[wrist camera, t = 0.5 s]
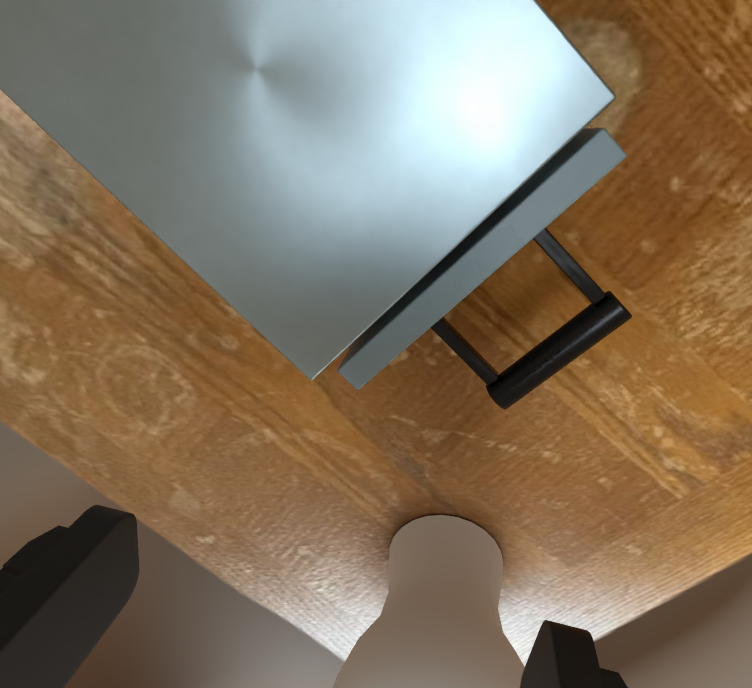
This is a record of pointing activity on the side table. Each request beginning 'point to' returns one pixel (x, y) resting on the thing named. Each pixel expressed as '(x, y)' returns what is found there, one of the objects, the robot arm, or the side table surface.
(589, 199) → the side table surface
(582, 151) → the drawer
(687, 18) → the side table surface
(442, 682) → the cup
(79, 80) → the drawer cabinet
